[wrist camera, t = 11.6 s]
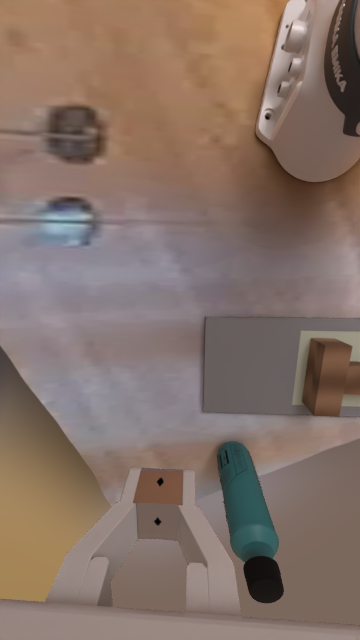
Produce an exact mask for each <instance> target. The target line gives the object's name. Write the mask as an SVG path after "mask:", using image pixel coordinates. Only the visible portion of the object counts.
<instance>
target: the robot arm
mask: <svg viewBox="0 0 360 640" xmlns="http://www.w3.org/2000/svg"><path fill="white" fill-rule="evenodd" d="M306 2H307V3H306ZM266 116H267V117H269V120H266V119H265V117H266ZM255 131H256V135H257V136H258V138H259V139H260V140H262V141H263V142H264V143H265V144H267V145H268V146H270V148H271V149H272V150H273V152H274V154H275V156H276V158H277V160H278V161H279V163H280V164H281V166H282V167H283V168H284V169H285V170H286V171H287V172H288V173H289V174H291V175H292V176H294V177H296V178H298V179H300V180H304V181H308V182H322V181H327V180H331V179H333V178H336V177H338V176H340V175H342V174H343V173H345V172H346V171H348V170H349V169H350V168H351V167H352V166H353V165H354V164H355V163H356V162H357V161H358V160H359V159H360V0H290V1H289V2H288V3H287V5H286V7H285V9H284V11H283V14H282V17H281V21H280V25H279V29H278V34H277V38H276V42H275V47H274V51H273V55H272V59H271V64H270V68H269V72H268V77H267V81H266V85H265V89H264V94H263V98H262V102H261V107H260V111H259V115H258V119H257V124H256V129H255ZM138 538H139V539H140V538H141V539H165V540H175V541H179V545H180V547H181V550H182V552H183V555H184V557H185V560H186V563H187V565H188V567H187V593H186V612H176V611H162V610H148V609H134V608H119V607H113V602H112V593H111V592H112V591H111V581H112V579H113V577H114V576H115V574H116V573H117V571H118V570H119V568H120V567H121V565H122V564H123V562H124V561H125V559H126V557H127V556H128V554H129V553H130V551H131V550H132V548H133V547H134V545H135V544H136V542H137V541H138ZM0 640H360V625H353V624H339V623H326V622H311V621H299V620H298V621H297V620H285V619H284V620H283V619H271V618H256V617H243V616H241V611H240V604H239V597H238V591H237V584H236V577H235V570H234V564H233V562H232V561H231V559H230V557H229V556H228V554H227V552H226V551H225V549H224V548H223V546H222V544H221V543H220V541H219V539H218V538H217V536H216V534H215V533H214V531H213V529H212V528H211V526H210V524H209V523H208V521H207V519H206V518H205V516H204V514H203V513H202V511H201V509H200V508H199V506H195V471H194V470H184V472H183V469H154V468H137V467H131V469H130V471H129V474H128V477H127V480H126V484H125V487H124V490H123V493H122V496H121V499H120V502H116V503H115V504H114V505H113V506H112V507H111V508H110V509H109V510H108V511H107V512H106V514H104V515H103V517H102V518H101V519H100V520H99V521H98V522H97V523H96V524H95V525H94V526H93V527H92V528H91V529H90V530H89V531H88V532H87V533H86V534H85V535H84V536H83V537H82V538H81V539H80V540H79V541H78V542H77V543H76V544H75V545H74V546H73V547H72V548H71V549H70V550H69V551H68V552H67V554H66V556H65V558H64V560H63V563H62V565H61V567H60V569H59V572H58V574H57V576H56V579H55V581H54V583H53V585H52V587H51V590H50V592H49V594H48V596H47V598H46V601H45V602H38V601H37V602H36V601H24V600H10V599H0Z"/></svg>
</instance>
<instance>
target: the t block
mask: <svg viewBox="0 0 360 640" xmlns="http://www.w3.org/2000/svg"><path fill="white" fill-rule="evenodd" d="M352 347H353V346H351V345H349V344H347V343H344V342H342V341H340V340H338V339H335V338H311V341H310V348H309V354H308V361H307V368H306V375H305V382H304V388H303V395H302V402H303V404H304V405H305V406H306V407H307V408H308V409H309V410H310V412H311V413H312V414H313V415H314V416H337V417H339V415H340V410H341V405H342V399H343V394H350V395H360V362H357V361H350V357H351V352H352Z"/></svg>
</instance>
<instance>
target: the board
mask: <svg viewBox="0 0 360 640" xmlns="http://www.w3.org/2000/svg"><path fill="white" fill-rule="evenodd" d="M311 338H335V339H338V340H340V341H342V342H344V343H347V344H349V345H351V346H353V347H352V352H351V357H350V361H357V362H360V318H294V317H205V352H204V390H203V412H215V413H247V414H280V415H312V416H314V415H313V414H312V413H311V412H310V410H309V409H308V408H307V407H306V406H305V405H304V404H303V402H302V395H303V388H304V382H305V375H306V368H307V361H308V354H309V348H310V341H311ZM339 416H344V417H360V395H350V394H343V399H342V405H341V410H340V415H339Z"/></svg>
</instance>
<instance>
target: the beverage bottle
mask: <svg viewBox="0 0 360 640" xmlns="http://www.w3.org/2000/svg"><path fill="white" fill-rule="evenodd" d="M217 455H218V457H217V458H218V463H217V464H218V465H219V467H218V468H219V472H220V475H219V477H220V481H221V484H222V486H221V487H222V491H223V497H224V504H225V510H226V518H227V521H228V527H229V533H230V543H231V547H232V550H233V551H234V553H235V554H236V555H237V556H238V557H239V558H240V559H241V560H242V561H244V562H245V564H244V575H245V578H246V582H247V586H248V590H249V593H250V595H251V596H252V598H253V599H255V600H256V601H258V602H261V603H272V602H275V601H277V600H279V599H280V598H281V597H282V595H283V592H284V589H283V584H282V579H281V576H280V575H281V574H280V570H279V567H278V564H277V562H276V561H275V560H273V557H274V556H275V554H276V552H277V549H278V546H279V539H278V536H277V534H276V532H275V529H274V526H273V523H272V520H271V517H270V514H269V511H268V508H267V505H266V502H265V499H264V496H263V493H262V490H261V486H260V483H259V480H258V477H257V474H256V470H255V467H254V464H253V463H254V462H252V459H251V456H250V453H249V451H248V450H247V448H246V447H245V446H244V445H242V444H240V443H237V442H229V443H226V444H224V445H223V446H221V448H220V449H219V451H218V454H217Z"/></svg>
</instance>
